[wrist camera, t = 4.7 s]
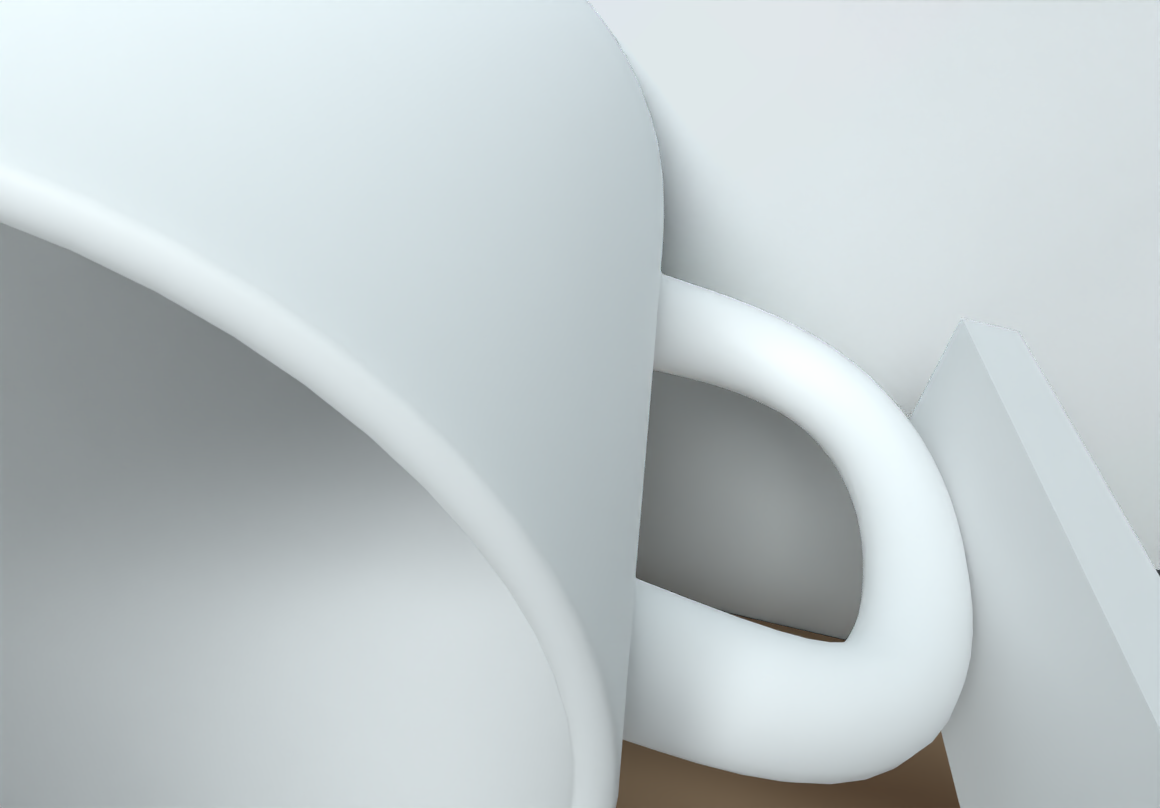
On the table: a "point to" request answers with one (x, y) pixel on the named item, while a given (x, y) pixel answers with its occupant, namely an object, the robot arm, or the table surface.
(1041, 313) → the table surface
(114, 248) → the cup
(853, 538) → the table surface
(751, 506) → the table surface
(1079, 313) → the table surface
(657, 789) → the wooden book rack
